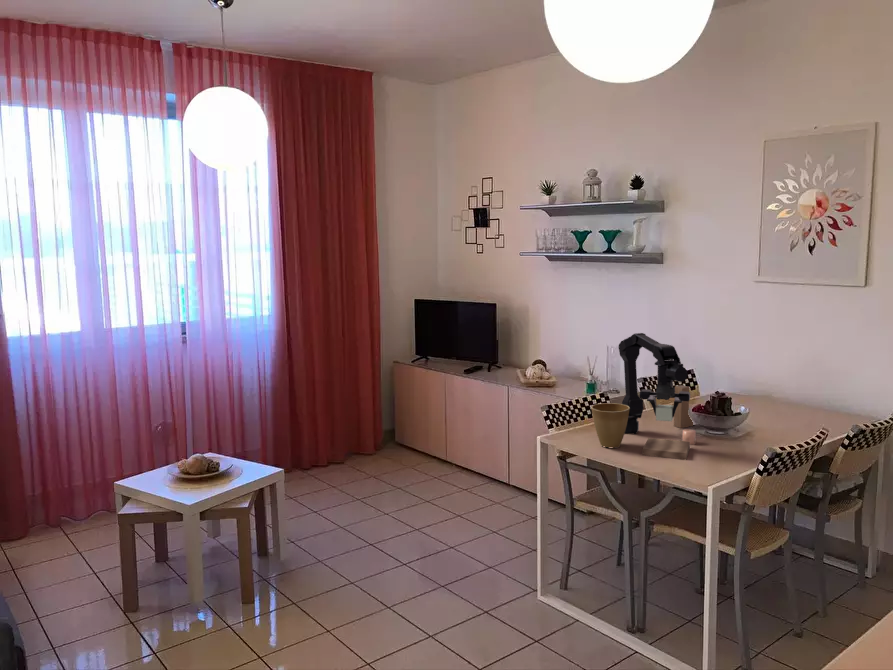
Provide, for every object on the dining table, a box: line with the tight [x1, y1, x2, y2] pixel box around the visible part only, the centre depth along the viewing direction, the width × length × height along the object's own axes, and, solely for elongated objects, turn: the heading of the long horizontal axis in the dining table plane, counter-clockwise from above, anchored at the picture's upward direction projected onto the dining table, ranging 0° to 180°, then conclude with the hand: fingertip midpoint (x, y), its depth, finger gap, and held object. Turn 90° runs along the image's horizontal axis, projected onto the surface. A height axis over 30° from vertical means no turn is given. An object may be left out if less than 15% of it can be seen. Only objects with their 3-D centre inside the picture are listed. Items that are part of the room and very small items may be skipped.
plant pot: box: [590, 402, 630, 449], centre depth 291 cm, size 15×15×16 cm
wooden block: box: [673, 384, 694, 429], centre depth 318 cm, size 9×4×18 cm, turn 119°
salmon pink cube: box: [681, 428, 697, 446], centre depth 294 cm, size 5×5×5 cm
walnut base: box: [642, 437, 691, 460], centre depth 283 cm, size 16×16×2 cm
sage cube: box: [655, 404, 674, 422], centre depth 286 cm, size 6×6×5 cm
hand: (664, 416), depth 286 cm, fingers closed on sage cube, 6 cm apart
